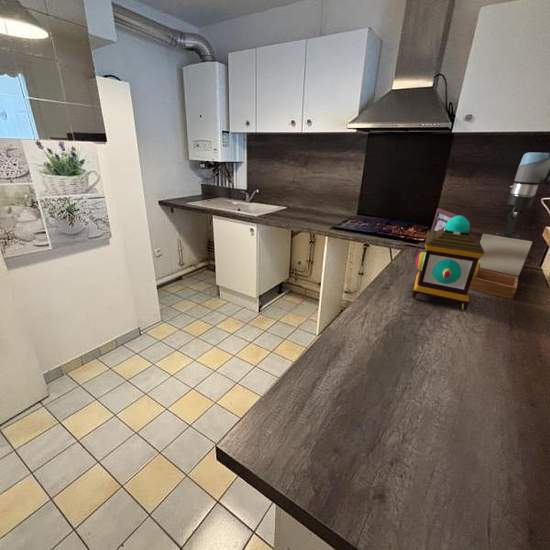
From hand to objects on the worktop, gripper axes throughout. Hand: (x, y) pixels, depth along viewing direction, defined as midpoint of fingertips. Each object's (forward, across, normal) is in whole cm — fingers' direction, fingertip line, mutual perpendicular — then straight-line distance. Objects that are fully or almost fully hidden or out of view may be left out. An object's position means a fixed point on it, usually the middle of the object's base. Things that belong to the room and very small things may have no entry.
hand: (501, 250), depth 121 cm
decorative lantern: (+12, +36, -14) cm, 40 cm away
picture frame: (+13, -3, -21) cm, 25 cm away
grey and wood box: (0, +8, 0) cm, 8 cm away
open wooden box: (+12, +14, 0) cm, 18 cm away
